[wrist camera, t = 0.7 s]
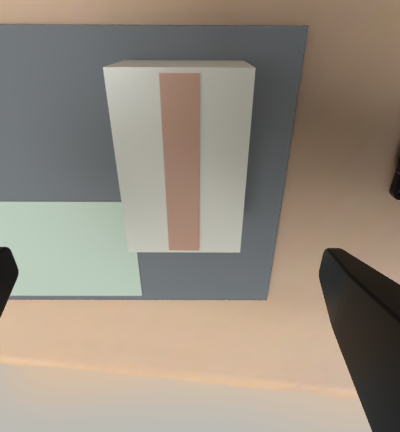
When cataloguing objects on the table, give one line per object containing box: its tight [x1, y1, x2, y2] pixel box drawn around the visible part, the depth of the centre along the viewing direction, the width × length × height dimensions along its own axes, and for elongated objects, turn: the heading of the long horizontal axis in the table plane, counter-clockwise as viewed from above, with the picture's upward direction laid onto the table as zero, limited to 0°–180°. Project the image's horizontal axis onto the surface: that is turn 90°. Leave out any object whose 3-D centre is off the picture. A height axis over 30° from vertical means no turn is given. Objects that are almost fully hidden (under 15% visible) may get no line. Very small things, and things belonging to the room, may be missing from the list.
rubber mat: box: [0, 25, 308, 300], centre depth 20 cm, size 22×18×1 cm
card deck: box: [103, 60, 256, 253], centre depth 16 cm, size 6×9×4 cm, turn 0°
